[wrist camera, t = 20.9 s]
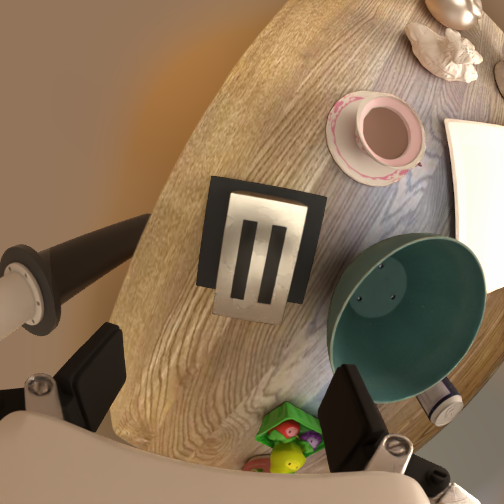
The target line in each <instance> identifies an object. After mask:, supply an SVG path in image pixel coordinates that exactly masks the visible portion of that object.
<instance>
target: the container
mask: <svg viewBox="0 0 504 504" xmlns="http://www.w3.org/2000/svg"><path fill="white" fill-rule="evenodd" d="M270 467H271V462H270V455H262V456H256V457H253V458H251V459H250V460H249V461H248V462H247V463H246V464H245V466H244V467H243V469H242V471H251V472H263V473H271V472H270Z"/></svg>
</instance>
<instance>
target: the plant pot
mask: <svg viewBox="0 0 504 504" xmlns="http://www.w3.org/2000/svg"><path fill="white" fill-rule="evenodd" d="M380 264H383V267H382V268H379V265H380ZM486 294H487V291H486V280H485V275H484V272H483V269H482V266H481V264H480V262H479V260H478V258H477V257H476V255H475V254H474V252H473V251H472V250H471V249H470V248H469V247H468V246H466V245H465V244H463V243H462V242H460V241H458V240H455V239H453V238H450V237H446V236H442V235H438V234H430V233H410V234H403V235H398V236H394V237H391V238H387V239H385V240H382V241H380V242H378V243H376V244H374V245H372V246H371V247H369V248H367V249H366V250H364V251H363V252H362V253H361V254H359V255H358V256H357V257H356V258H355V259H354V260H353V261H352V262H351V263H350V265H349V266H348V267H347V268H346V270H345V271H344V273H343V274H342V276H341V278H340V280H339V282H338V284H337V286H336V288H335V290H334V293H333V296H332V299H331V303H330V307H329V313H328V320H327V347H328V354H329V360H330V364H331V368H332V371H333V374H334V373H335V371H336V369H337V367H340V366H341V365H342V364H355V365H356V367H357V369H358V371H359V373H360V375H361V377H362V379H363V381H364V383H365V386H366V388H367V390H368V392H369V394H370V395H371V397H372V399H373V402H374V403H376V404H385V403H393V402H398V401H402V400H406V399H409V398H412V397H414V396H416V395H419V394H421V393H423V392H425V391H426V390H428V389H430V388H431V387H433V386H434V385H436V384H437V383H438V382H440V381H441V380H442V379H444V378H445V377H446V376H447V375H448V374H449V373H450V372H451V371H452V370H453V369H454V368H455V367H456V366H457V365H458V364H459V362H460V361H461V360H462V359H463V357H464V356H465V355H466V353H467V352H468V350H469V349H470V347H471V345H472V344H473V342H474V340H475V338H476V335H477V333H478V331H479V328H480V326H481V323H482V320H483V316H484V312H485V306H486ZM392 295H395V297H394V298H393V299H391V296H392ZM358 297H361V300H359V301H358V300H357V298H358Z"/></svg>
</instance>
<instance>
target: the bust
mask: <svg viewBox="0 0 504 504" xmlns="http://www.w3.org/2000/svg"><path fill="white" fill-rule="evenodd" d="M406 35H407V37H408V38H409V40H410V42H411V44H412V50H413V53H414V55H415V56H416V57H417V58H418V60H419V62H420V63H421V64H422V66H423V67H425V68H426V69H427V70H428V71H430V72H431V73H432V74H434V75H435V76H437V77H441V78H443V79H445V80H447V81H452V80H456V81H464V82H467V83H470V82H471V81H474V80H476V79H477V73H476V70H475V68H474V66H473V65H472V64H480V62H482V61H483V58H482V56H481V55H480V54H479V53H478V52H477V51H475V47H474V46H473V45H472V44H471V42H470V41H469V40H468V39H465V38H461V35H460V33H459V32H458V31H456V30H452V29H451V28H447V29H446V33H445V35H446V37H447V38H446V37H443V36H439V35H438V34H436V33H435V32H433V31H432V30H431V29H430V28H428V27H427V26H425V25H423V24H419V23H414V22H410V23H408V24H407V25H406Z"/></svg>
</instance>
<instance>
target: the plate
mask: <svg viewBox="0 0 504 504" xmlns="http://www.w3.org/2000/svg"><path fill="white" fill-rule="evenodd" d="M444 124H445V129H446V134H447V139H448V145H449V152H450V158H451V166H452V175H453V185H454V198H455V220H456V240H458V241H460V242H462V243H463V244H465V245H466V246H468V247H469V248H470V249H471V250H472V251H473V252H474V254H475V255H476V257H477V258H478V260H479V262H480V264H481V266H482V269H483V272H484V275H485V280H486V291H487V293H490V292H492V291H494V290H497V289H499V288H502V287H504V126H500V125H494V124H488V123H481V122H474V121H465V120H456V119H445V120H444Z"/></svg>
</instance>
